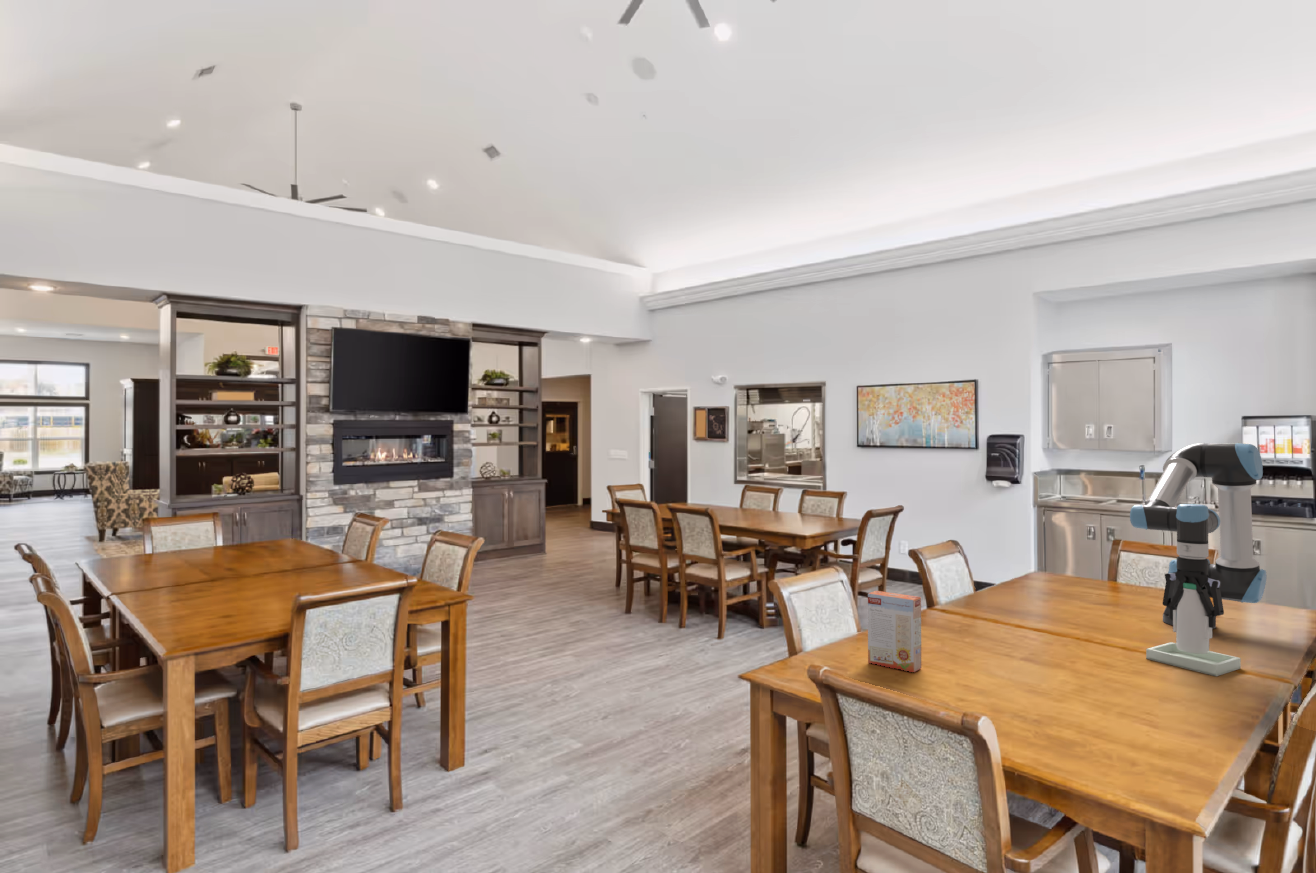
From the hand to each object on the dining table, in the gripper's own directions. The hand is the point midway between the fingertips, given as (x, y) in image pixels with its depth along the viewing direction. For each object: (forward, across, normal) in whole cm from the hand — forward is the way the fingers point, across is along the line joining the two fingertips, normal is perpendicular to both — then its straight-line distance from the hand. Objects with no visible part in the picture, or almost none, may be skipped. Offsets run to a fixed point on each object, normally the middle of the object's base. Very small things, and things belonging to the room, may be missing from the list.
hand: (1192, 634), depth 210 cm
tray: (+8, 0, 0) cm, 8 cm away
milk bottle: (+5, 0, 0) cm, 5 cm away
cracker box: (+9, -41, -78) cm, 88 cm away
